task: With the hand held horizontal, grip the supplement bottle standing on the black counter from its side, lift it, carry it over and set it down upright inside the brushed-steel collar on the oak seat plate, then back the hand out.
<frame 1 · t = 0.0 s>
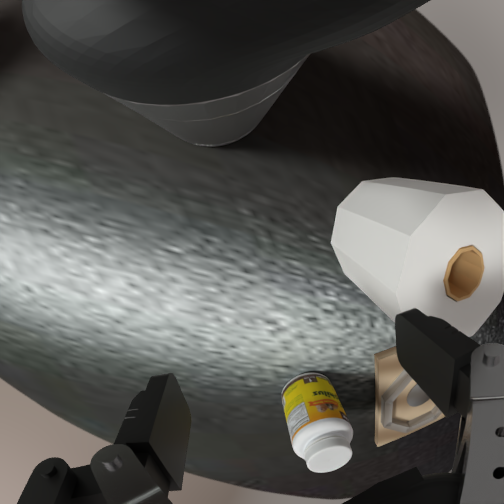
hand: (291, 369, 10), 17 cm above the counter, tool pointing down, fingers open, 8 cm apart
toilet paper: (381, 232, 28), on the counter
supplement bottle: (305, 388, 31), on the counter
seat plate: (417, 386, 33), on the counter
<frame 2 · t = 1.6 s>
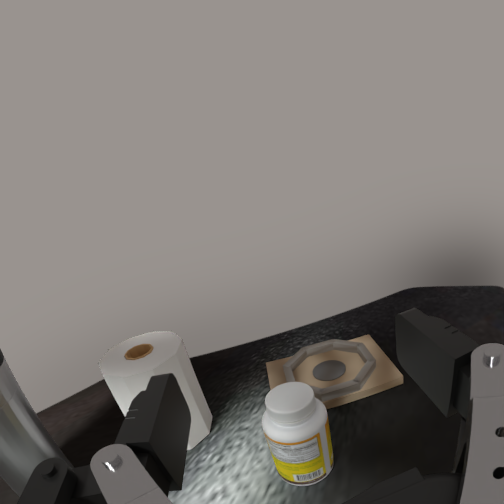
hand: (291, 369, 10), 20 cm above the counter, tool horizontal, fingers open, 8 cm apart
toilet paper: (175, 429, 35), on the counter
supplement bottle: (306, 468, 25), on the counter
seat plate: (330, 377, 39), on the counter
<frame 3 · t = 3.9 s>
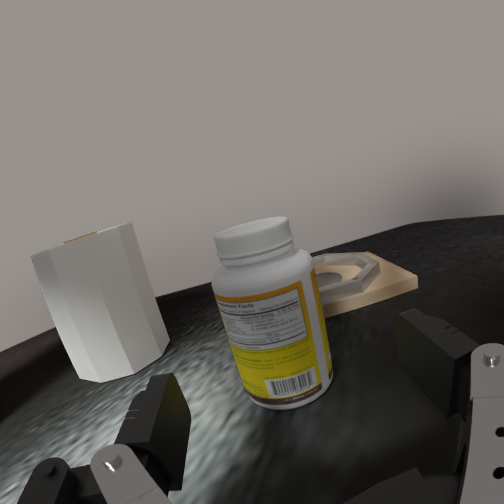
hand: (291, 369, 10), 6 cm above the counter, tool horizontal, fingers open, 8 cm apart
toilet paper: (122, 356, 28), on the counter
supplement bottle: (290, 387, 19), on the counter
seat plate: (322, 292, 32), on the counter
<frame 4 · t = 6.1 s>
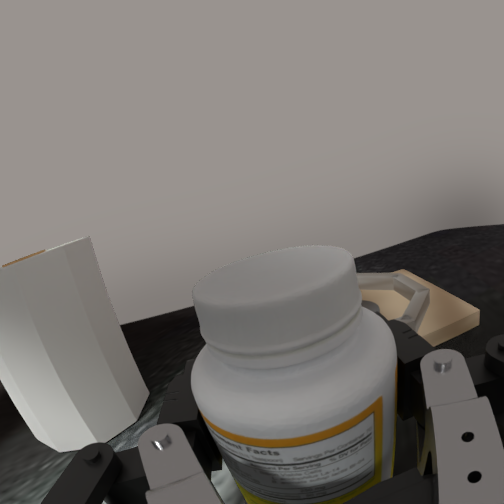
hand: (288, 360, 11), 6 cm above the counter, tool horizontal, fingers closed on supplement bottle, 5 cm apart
toilet paper: (90, 411, 19), on the counter
supplement bottle: (323, 501, 10), on the counter, touching gripper
seat plate: (353, 328, 23), on the counter
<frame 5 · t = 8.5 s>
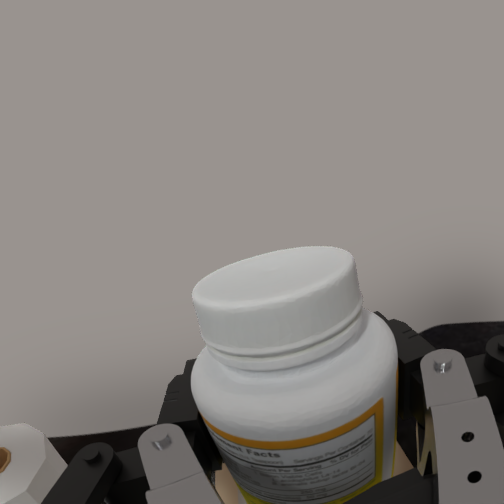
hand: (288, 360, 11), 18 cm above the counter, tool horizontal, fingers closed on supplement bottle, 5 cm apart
supplement bottle: (323, 502, 10), point 11 cm above the counter, touching gripper
seat plate: (316, 502, 19), on the counter
when the fingers open (8 cm above the counter, at t = 11.3 s): supplement bottle stays where it is, resting on seat plate.
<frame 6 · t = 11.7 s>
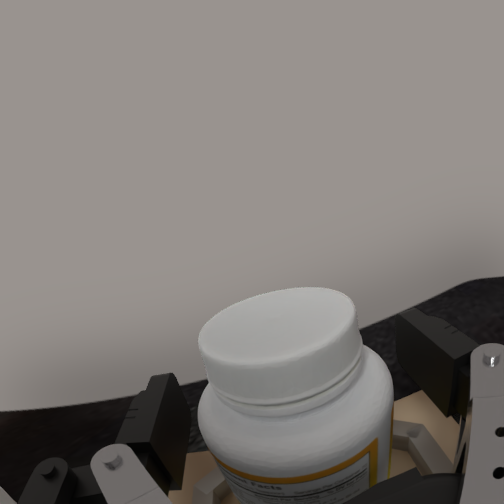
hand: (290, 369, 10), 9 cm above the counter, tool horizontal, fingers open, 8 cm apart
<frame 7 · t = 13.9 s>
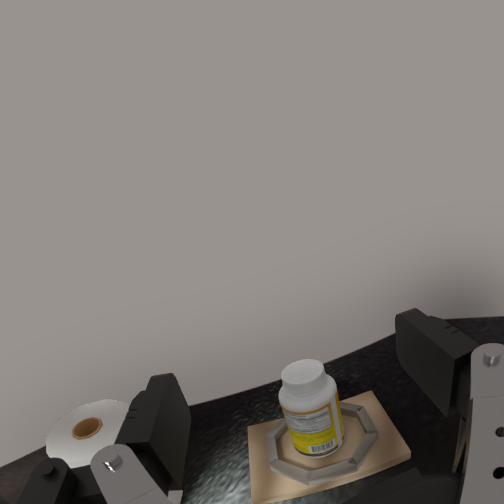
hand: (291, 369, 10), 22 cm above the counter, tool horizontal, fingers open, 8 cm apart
toilet paper: (142, 501, 25), on the counter
supplement bottle: (319, 443, 29), point 1 cm above the counter, touching seat plate
seat plate: (322, 448, 29), on the counter
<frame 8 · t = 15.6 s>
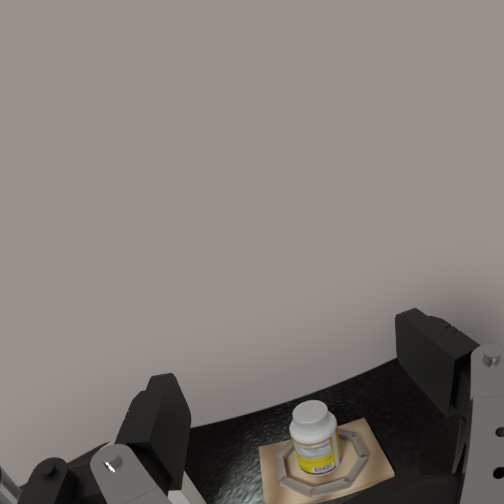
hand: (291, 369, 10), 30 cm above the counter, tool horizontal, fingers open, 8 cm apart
supplement bottle: (320, 463, 34), point 1 cm above the counter, touching seat plate
seat plate: (322, 467, 34), on the counter
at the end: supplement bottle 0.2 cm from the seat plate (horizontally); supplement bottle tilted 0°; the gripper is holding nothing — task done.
